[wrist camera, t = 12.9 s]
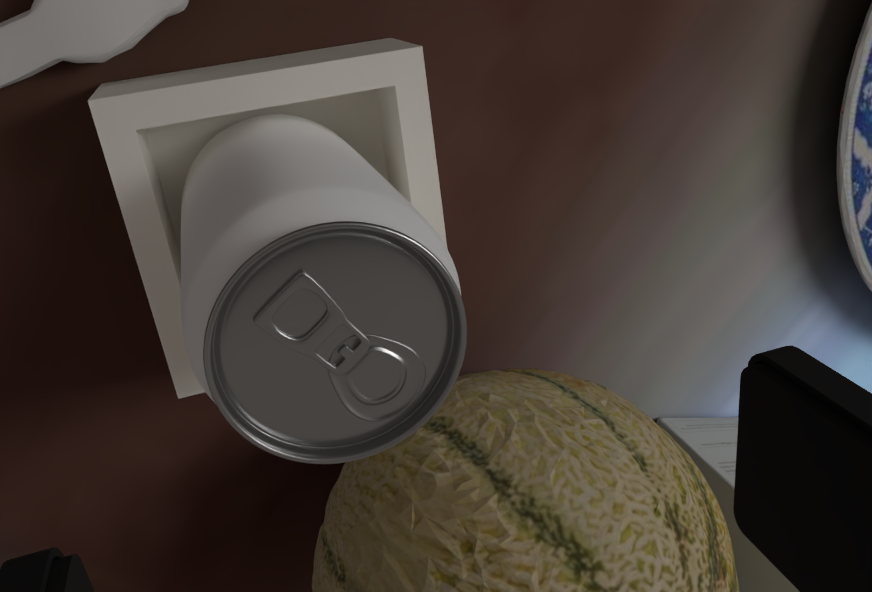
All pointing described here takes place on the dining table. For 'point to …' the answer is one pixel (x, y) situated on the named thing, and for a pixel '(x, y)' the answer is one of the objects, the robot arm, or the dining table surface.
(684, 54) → the dining table surface
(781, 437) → the robot arm
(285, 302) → the can
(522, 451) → the cantaloupe
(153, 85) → the can holder
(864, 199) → the ceramic plate
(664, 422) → the supplement box
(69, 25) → the white long tapered piece
